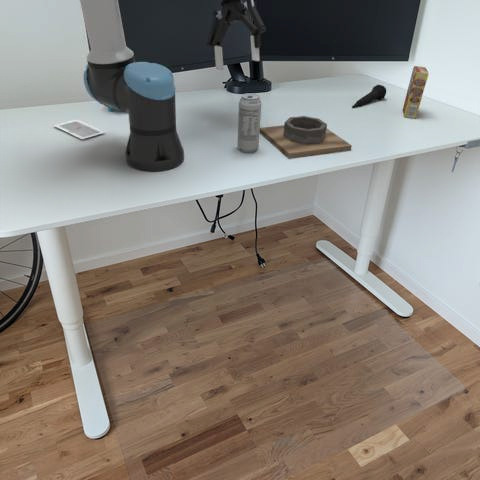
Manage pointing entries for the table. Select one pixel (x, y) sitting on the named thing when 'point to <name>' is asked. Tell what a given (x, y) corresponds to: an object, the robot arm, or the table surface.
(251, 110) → the energy drink can
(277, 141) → the can dock
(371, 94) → the microphone
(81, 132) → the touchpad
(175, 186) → the table surface
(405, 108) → the candy box
